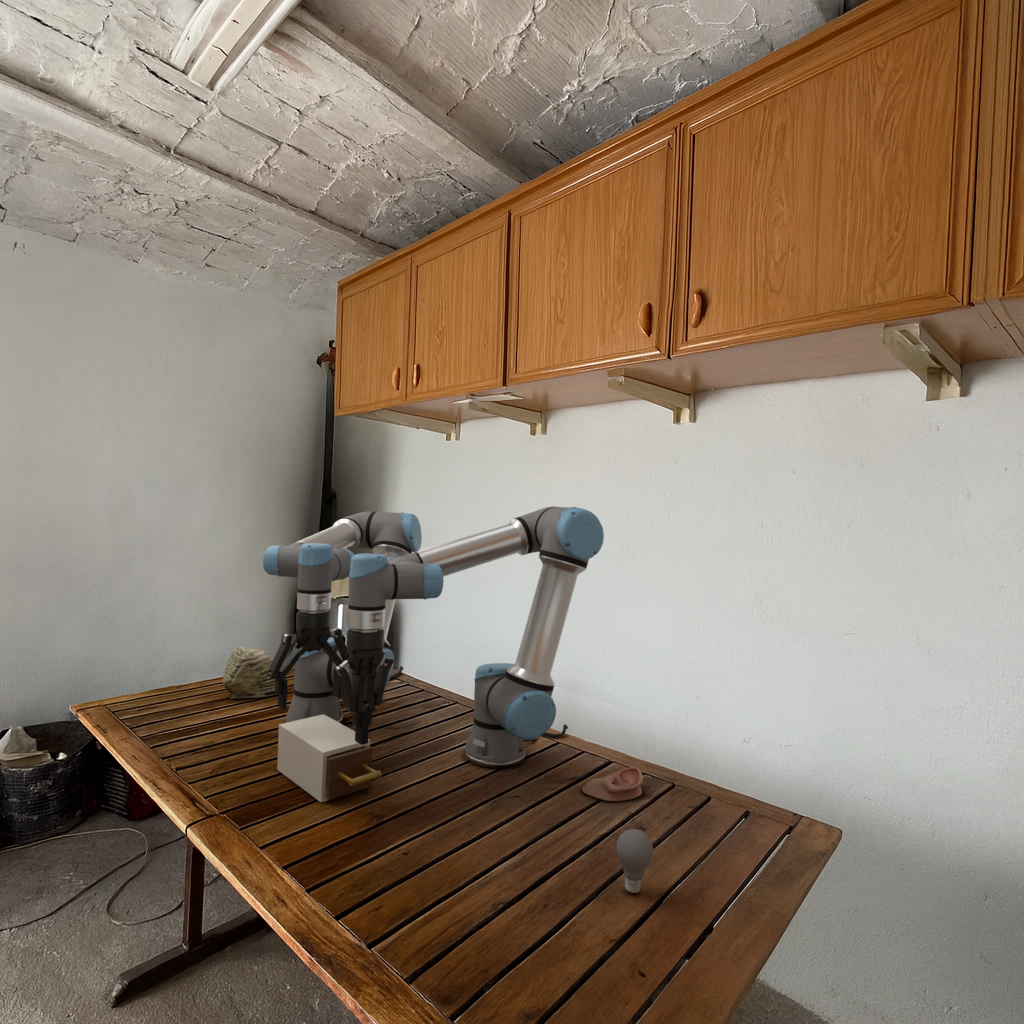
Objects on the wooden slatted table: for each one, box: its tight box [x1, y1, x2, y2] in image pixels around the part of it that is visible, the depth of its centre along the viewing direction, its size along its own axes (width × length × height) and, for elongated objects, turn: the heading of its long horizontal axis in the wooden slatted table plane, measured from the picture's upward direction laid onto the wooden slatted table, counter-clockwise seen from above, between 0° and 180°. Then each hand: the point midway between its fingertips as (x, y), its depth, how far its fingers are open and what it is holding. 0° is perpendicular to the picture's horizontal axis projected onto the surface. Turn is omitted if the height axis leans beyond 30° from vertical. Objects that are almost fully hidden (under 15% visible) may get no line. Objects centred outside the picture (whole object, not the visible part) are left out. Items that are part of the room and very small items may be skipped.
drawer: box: [326, 745, 382, 801], centre depth 138 cm, size 25×10×8 cm, turn 45°
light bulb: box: [615, 828, 654, 894], centre depth 106 cm, size 6×6×10 cm
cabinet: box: [276, 714, 371, 803], centre depth 142 cm, size 21×11×10 cm, turn 45°
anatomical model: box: [581, 766, 644, 802], centre depth 142 cm, size 13×4×12 cm
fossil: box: [222, 646, 278, 699], centre depth 198 cm, size 9×18×15 cm, turn 132°
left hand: (310, 701), depth 147 cm, fingers open, 13 cm apart
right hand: (361, 741), depth 131 cm, fingers closed
